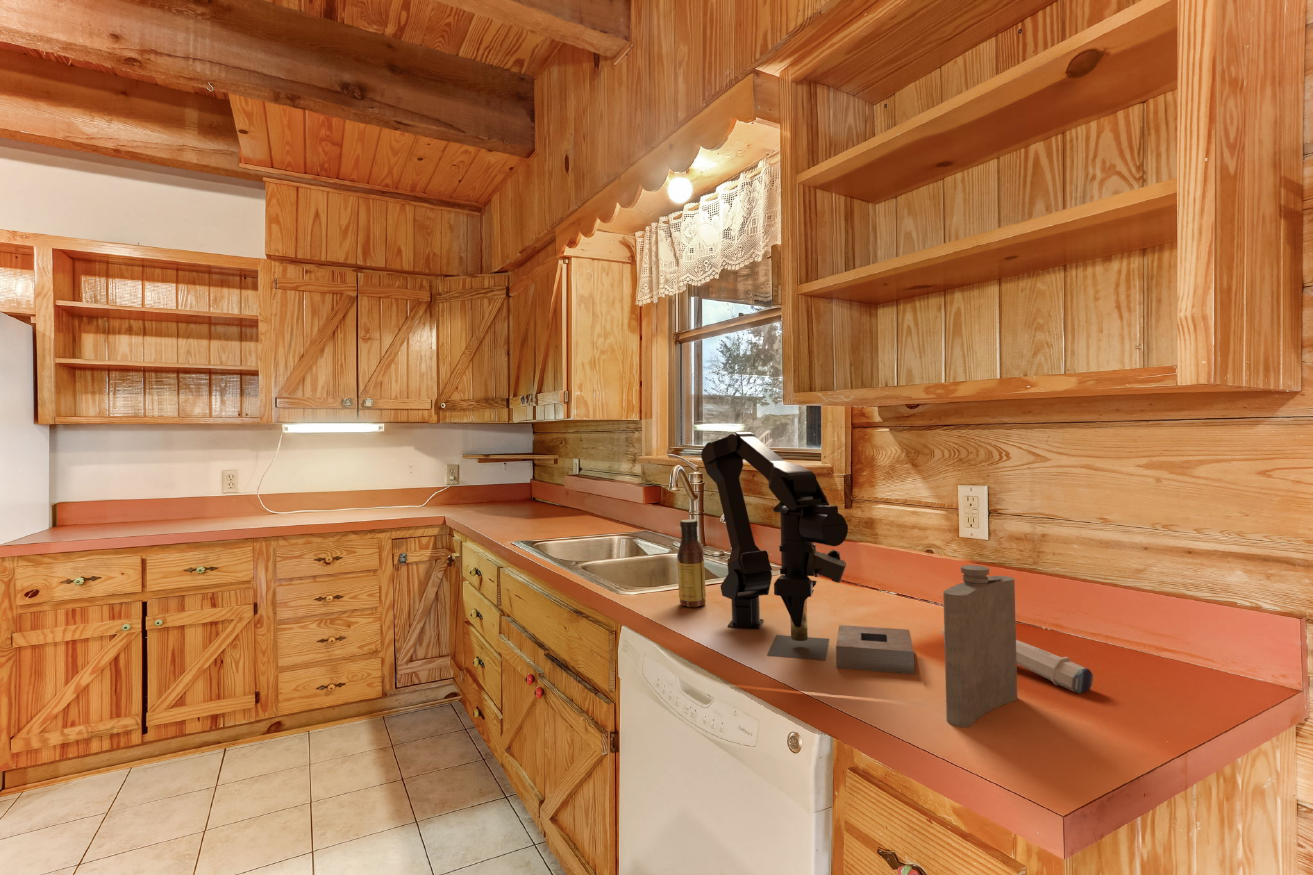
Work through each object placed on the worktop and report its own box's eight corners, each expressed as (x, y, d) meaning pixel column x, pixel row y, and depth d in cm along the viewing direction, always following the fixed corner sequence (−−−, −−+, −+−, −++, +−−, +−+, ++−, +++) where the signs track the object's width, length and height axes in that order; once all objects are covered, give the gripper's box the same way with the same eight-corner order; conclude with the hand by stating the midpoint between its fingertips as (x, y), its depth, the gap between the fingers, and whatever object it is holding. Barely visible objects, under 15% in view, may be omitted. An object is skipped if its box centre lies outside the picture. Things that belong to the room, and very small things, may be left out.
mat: (776, 636, 124) (776, 634, 124) (829, 640, 121) (829, 638, 121) (766, 657, 113) (766, 655, 113) (825, 662, 110) (825, 660, 110)
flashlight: (1074, 671, 93) (938, 607, 116) (1069, 714, 94) (934, 642, 117) (1097, 665, 95) (959, 604, 118) (1092, 707, 96) (955, 638, 119)
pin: (791, 635, 119) (790, 586, 119) (808, 636, 118) (807, 587, 118) (790, 640, 116) (788, 590, 116) (807, 641, 115) (805, 591, 115)
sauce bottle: (692, 600, 154) (690, 517, 154) (711, 604, 149) (709, 519, 149) (672, 605, 149) (670, 520, 149) (692, 610, 145) (689, 522, 145)
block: (839, 646, 118) (839, 624, 118) (909, 652, 114) (909, 629, 114) (836, 669, 106) (836, 645, 106) (914, 676, 102) (913, 651, 102)
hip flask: (964, 729, 84) (961, 577, 84) (935, 718, 87) (932, 572, 87) (1021, 697, 94) (1018, 560, 94) (993, 689, 97) (989, 557, 97)
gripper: (840, 548, 105) (842, 643, 105) (844, 532, 123) (846, 613, 123) (772, 546, 109) (774, 638, 109) (785, 530, 127) (788, 609, 127)
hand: (798, 623), depth 117 cm, fingers closed on pin, 3 cm apart
